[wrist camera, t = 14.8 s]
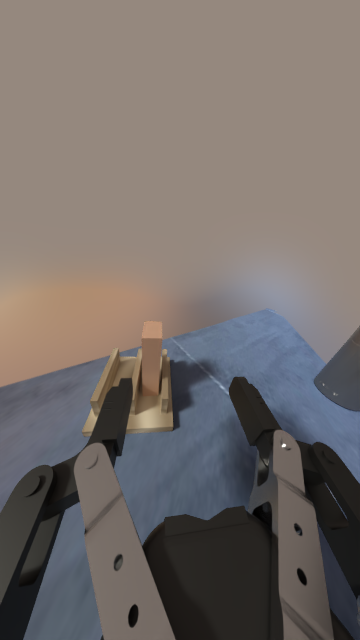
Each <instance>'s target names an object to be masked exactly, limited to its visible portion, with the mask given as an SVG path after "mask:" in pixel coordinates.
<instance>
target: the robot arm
mask: <svg viewBox="0 0 360 640" xmlns="http://www.w3.org/2000/svg"><path fill="white" fill-rule="evenodd" d="M314 383H315V385H316V387H317V388H318V389H319V390H320V391H321V392H322V393H323V394H324V395H325V396H326V397H328V398H329V399H330V400H332V401H333V402H335V403H337V404H338V405H340V406H342V407H345V408H347V409H350V410H353V411H360V326H359V328H358V329H357V330H356V331H355V332H354V333H353V335H352V336H351V337H350V338H349V339H348V340H347V342H346V343H345V344H344V345H343V346H342V347H341V349H340V350H339V351H338V352H337V353H336V354H335V355H334V357H333V358H332V359H331V360H330V361H329V362H328V364H327V365H326V366H325V367H324V368H323V369H322V370H321V372H320V373H319V374H318V375H317V376H316V377H315V379H314ZM229 395H230V398H231V400H232V403H233V405H234V408H235V410H236V413H237V415H238V417H239V420H240V422H241V425H242V427H243V430H244V432H245V435H246V437H247V439H248V442H249V444H250V446H255V445H256V446H257V449H258V451H257V457H256V468H255V478H254V486H253V490H252V492H251V495H250V499H249V506H248V512H247V511H246V510H245V507H244V506H239V507H232V508H226V509H224V510H223V511H221V512H220V513H219V514H217V515H216V516H214V517H213V518H211V519H210V520H203V519H200V518H196V517H193V516H190V515H186V514H184V515H178V516H171V517H165V519H164V522H162V523H161V524H159V525H158V526H157V527H156V528H155V529H154V530H153V531H152V532H151V533H150V535H149V536H148V537H147V539H146V540H145V542H144V544H143V546H142V544H141V541H140V539H139V536H138V533H137V530H136V528H135V525H134V522H133V520H132V517H131V514H130V512H129V509H128V506H127V504H126V501H125V498H124V495H123V493H122V490H121V487H120V485H119V482H118V479H117V476H116V474H115V471H114V465H115V461H116V456H121V455H122V450H123V444H124V439H125V434H126V429H127V424H128V419H129V414H130V409H131V404H132V399H133V383H132V378H121V379H120V382H119V385H118V386H112V387H111V389H110V390H109V391H108V392H107V394H106V396H105V399H104V402H103V404H102V407H101V411H100V413H99V415H98V418H97V421H96V423H95V426H94V429H93V431H92V434H91V437H90V439H89V441H88V443H87V445H86V446H85V447H84V449H83V450H82V451H81V452H80V453H78V454H77V455H76V456H74V457H72V458H70V459H68V460H66V461H64V462H61V463H59V464H57V465H55V466H53V467H50V466H49V465H41V466H38V467H36V468H34V469H32V470H31V471H30V472H28V473H27V474H26V475H25V476H24V477H23V478H22V479H21V480H20V481H19V482H18V484H17V485H16V487H15V488H14V490H13V492H12V493H11V495H10V497H9V499H8V501H7V502H6V504H5V506H4V508H3V510H2V511H1V513H0V640H23V638H24V635H25V632H26V629H27V626H28V623H29V620H30V617H31V613H32V610H33V607H34V604H35V601H36V598H37V595H38V592H39V589H40V586H41V583H42V580H43V576H44V573H45V570H46V567H47V564H48V561H49V558H50V555H51V552H52V549H53V546H54V543H55V540H56V536H57V533H58V530H59V527H60V524H61V521H62V518H63V515H64V512H65V510H66V509H68V508H69V507H71V506H73V505H75V504H76V503H78V502H80V504H81V509H82V514H83V519H84V524H85V544H86V550H87V555H88V561H89V566H90V571H91V576H92V581H93V586H94V591H95V596H96V602H97V607H98V612H99V617H100V622H101V627H102V632H103V635H102V638H101V640H354V638H353V637H352V636H351V634H350V633H349V632H348V631H347V629H346V628H345V627H344V625H343V624H342V623H341V622H340V620H339V619H338V618H337V616H336V615H335V614H334V613H333V611H332V610H331V609H330V607H329V601H328V595H327V588H326V581H325V574H324V568H323V561H322V554H321V547H320V540H319V534H318V527H317V522H318V524H319V526H320V528H321V530H322V531H323V533H324V535H325V537H326V539H327V541H328V543H329V545H330V547H331V549H332V551H333V553H334V555H335V557H336V559H337V561H338V563H339V565H340V567H341V569H342V571H343V573H344V575H345V577H346V579H347V581H348V583H349V585H350V587H351V589H352V591H353V593H354V595H355V597H356V599H357V608H358V613H357V621H358V624H359V627H360V484H359V483H358V481H357V480H356V479H355V477H354V476H353V475H352V473H351V472H350V471H349V469H348V468H347V467H346V465H345V464H344V463H343V461H342V460H341V459H340V457H339V456H338V455H337V454H336V453H335V452H334V451H333V450H332V449H331V448H330V447H328V446H327V445H325V444H323V443H321V442H315V443H314V444H313V445H309V444H306V443H303V442H300V441H297V440H295V439H294V438H293V437H292V436H291V435H290V434H288V433H287V432H285V431H283V430H282V429H281V427H280V426H279V424H278V423H277V421H276V419H275V418H274V416H273V414H272V413H271V411H270V410H269V408H268V406H267V405H266V404H265V401H264V400H263V398H262V396H261V395H260V393H259V391H258V390H257V389H256V388H255V387H254V386H253V385H252V384H249V383H248V381H247V379H246V378H245V377H234V378H233V380H232V383H231V385H230V387H229ZM325 482H326V484H327V485H328V487H329V489H330V490H331V492H332V494H333V495H334V497H335V498H336V500H337V502H338V503H339V505H340V506H341V508H342V510H343V511H344V513H345V515H346V517H347V519H348V520H347V519H346V517H345V516H344V514H343V512H342V511H341V509H340V508H339V506H338V504H337V503H336V501H335V499H334V498H333V496H332V495H331V493H330V491H329V490H328V488H327V486H326V485H325Z"/></svg>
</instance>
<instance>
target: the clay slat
mask: <svg viewBox="0 0 360 640" xmlns="http://www.w3.org/2000/svg"><path fill="white" fill-rule="evenodd" d="M161 348H162V322H154V321H145V323H144V328H143V333H142V392H143V396H156V395H158V391H159V376H160V362H161Z"/></svg>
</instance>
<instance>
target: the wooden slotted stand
mask: <svg viewBox="0 0 360 640" xmlns="http://www.w3.org/2000/svg"><path fill="white" fill-rule="evenodd" d="M121 378H132V383H133V399H132V404H131V409H130V414H129V419H128V424H127V429H126V434H132V433H148V432H163V431H172V430H173V413H172V394H171V376H170V357H167V349H162V357H161V362H160V376H159V391H158V395H156V396H143V392H142V349H139V350H138V355H137V357H120V355H119V349H118V348H114V350H113V352H112V354H111V356H110V358H109V360H108V363H107V365H106V367H105V369H104V371H103V374H102V376H101V378H100V380H99V383H98V385H97V387H96V389H95V391H94V394H93V396H92V398H91V400H90V403H91V406H92V409H91V412H90V414H89V416H88V419H87V421H86V423H85V426H84V428H83V431H82V433H83V436H84V437H86V436H91V434H92V431H93V429H94V426H95V423H96V421H97V418H98V415H99V413H100V411H101V407H102V404H103V402H104V399H105V396H106V394H107V392H108V391H109V390H110V389H111V387H112V386H118V385H119V382H120V379H121Z"/></svg>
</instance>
